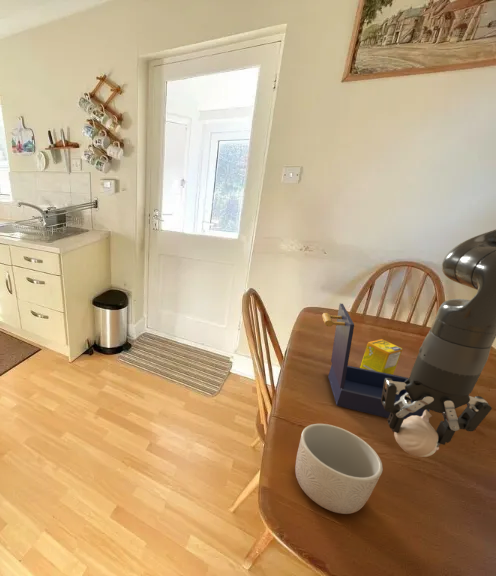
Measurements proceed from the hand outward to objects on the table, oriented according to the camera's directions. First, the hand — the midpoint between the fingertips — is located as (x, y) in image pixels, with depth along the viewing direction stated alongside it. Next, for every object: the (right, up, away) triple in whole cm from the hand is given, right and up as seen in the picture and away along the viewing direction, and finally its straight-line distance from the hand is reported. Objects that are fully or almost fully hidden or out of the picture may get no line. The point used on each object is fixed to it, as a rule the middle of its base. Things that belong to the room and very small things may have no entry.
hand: (415, 434), depth 59 cm
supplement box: (+22, +1, +36) cm, 42 cm away
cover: (+4, +13, +25) cm, 28 cm away
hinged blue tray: (+13, -3, +26) cm, 30 cm away
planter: (-15, -12, +3) cm, 20 cm away
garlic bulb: (0, -4, +1) cm, 4 cm away
